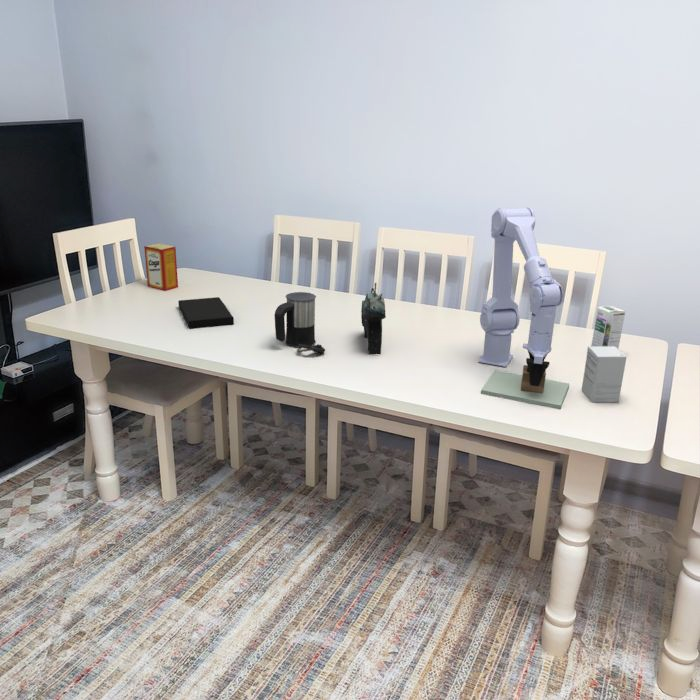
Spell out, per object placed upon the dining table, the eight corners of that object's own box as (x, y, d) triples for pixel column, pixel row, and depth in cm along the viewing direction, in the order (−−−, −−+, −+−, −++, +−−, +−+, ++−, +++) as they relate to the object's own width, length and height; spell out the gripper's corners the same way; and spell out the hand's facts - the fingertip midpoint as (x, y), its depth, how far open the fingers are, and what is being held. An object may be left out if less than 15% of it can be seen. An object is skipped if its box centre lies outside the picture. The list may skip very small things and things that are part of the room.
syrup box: (589, 352, 207) (596, 306, 202) (604, 350, 209) (612, 304, 204) (602, 359, 202) (610, 312, 197) (618, 356, 204) (626, 310, 199)
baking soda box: (147, 286, 261) (144, 245, 255) (161, 283, 266) (157, 242, 260) (164, 291, 256) (161, 248, 250) (178, 287, 261) (175, 245, 256)
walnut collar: (521, 382, 182) (523, 365, 180) (543, 385, 181) (545, 367, 179) (520, 390, 177) (522, 372, 175) (543, 393, 176) (545, 375, 174)
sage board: (494, 373, 190) (494, 369, 190) (568, 386, 183) (569, 383, 182) (480, 393, 177) (481, 389, 177) (560, 409, 170) (560, 405, 169)
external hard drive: (189, 330, 218) (188, 321, 217) (178, 308, 238) (178, 300, 237) (233, 325, 223) (233, 317, 222) (219, 305, 243) (219, 297, 242)
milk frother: (295, 335, 215) (295, 289, 209) (340, 344, 208) (341, 297, 203) (270, 349, 203) (269, 301, 198) (316, 359, 196) (317, 310, 191)
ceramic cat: (385, 356, 200) (388, 290, 192) (362, 357, 199) (365, 290, 192) (377, 333, 218) (380, 272, 211) (357, 333, 218) (359, 272, 211)
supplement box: (608, 390, 181) (615, 345, 176) (619, 402, 174) (627, 356, 170) (580, 390, 181) (587, 345, 176) (590, 402, 174) (598, 356, 169)
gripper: (525, 319, 181) (519, 367, 185) (524, 337, 167) (517, 388, 172) (553, 322, 179) (546, 370, 184) (554, 341, 166) (547, 392, 171)
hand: (534, 379), depth 178 cm, fingers open, 7 cm apart
